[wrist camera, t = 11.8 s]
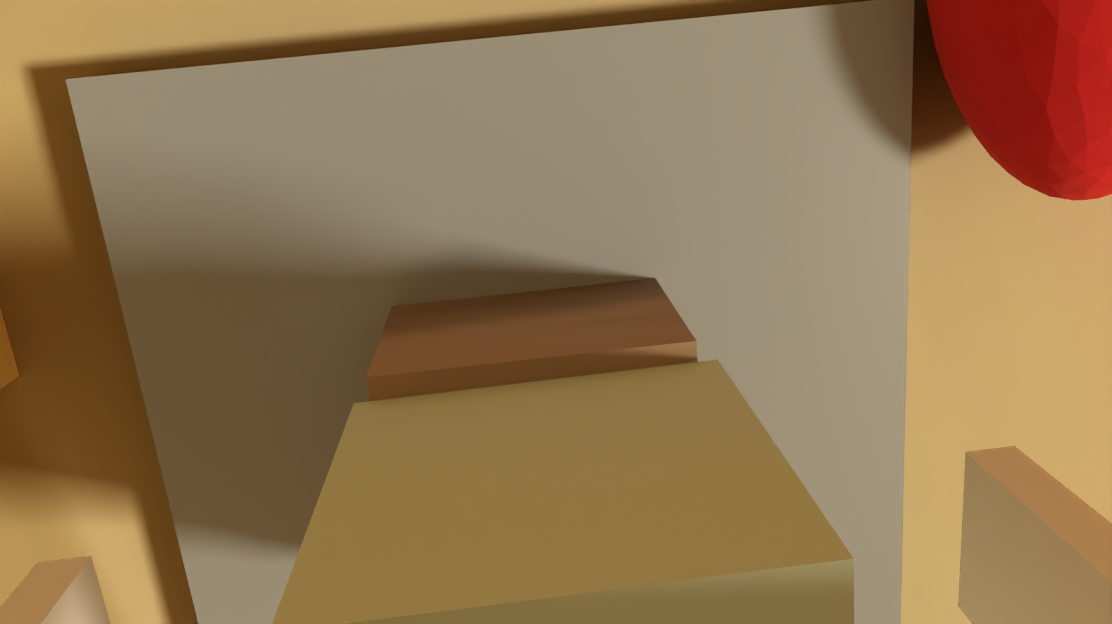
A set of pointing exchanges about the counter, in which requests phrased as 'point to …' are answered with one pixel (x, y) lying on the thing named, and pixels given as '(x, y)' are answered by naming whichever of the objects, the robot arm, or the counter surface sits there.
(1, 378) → the ochre brick
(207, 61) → the counter surface
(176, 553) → the counter surface
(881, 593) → the baseplate
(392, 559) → the sage brick
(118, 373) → the counter surface
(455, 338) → the brown brick
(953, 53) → the toy figure
